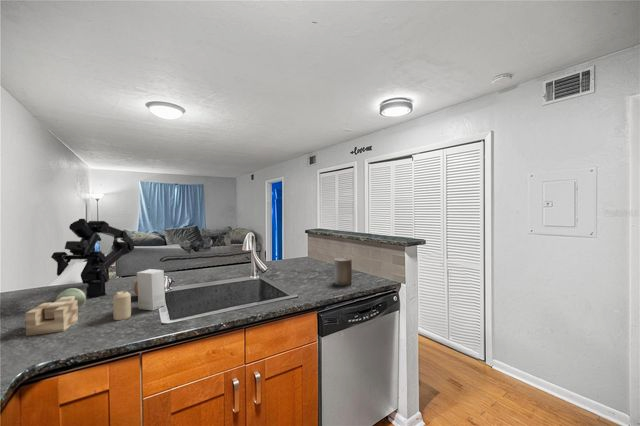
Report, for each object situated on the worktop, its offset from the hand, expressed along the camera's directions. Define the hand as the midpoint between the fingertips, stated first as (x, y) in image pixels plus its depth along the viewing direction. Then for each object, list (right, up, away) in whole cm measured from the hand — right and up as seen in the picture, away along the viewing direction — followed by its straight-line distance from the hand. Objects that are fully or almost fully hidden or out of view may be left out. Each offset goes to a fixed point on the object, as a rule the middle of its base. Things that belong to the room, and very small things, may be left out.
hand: (70, 275), depth 116 cm
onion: (+23, -14, +14) cm, 30 cm away
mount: (+10, -15, -17) cm, 25 cm away
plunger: (+8, -13, -12) cm, 19 cm away
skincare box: (+33, -14, +2) cm, 36 cm away
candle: (+28, -15, -9) cm, 33 cm away
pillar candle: (+117, -13, +38) cm, 124 cm away
